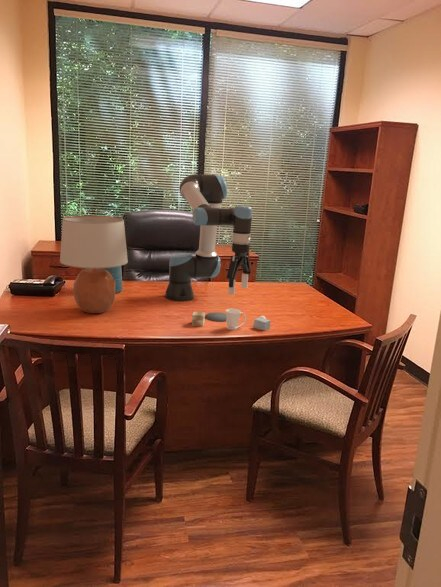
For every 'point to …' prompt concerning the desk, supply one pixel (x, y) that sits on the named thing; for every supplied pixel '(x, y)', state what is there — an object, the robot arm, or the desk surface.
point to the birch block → (198, 318)
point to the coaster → (216, 316)
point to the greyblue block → (262, 323)
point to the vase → (116, 277)
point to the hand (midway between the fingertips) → (237, 291)
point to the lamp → (93, 258)
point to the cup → (233, 318)
